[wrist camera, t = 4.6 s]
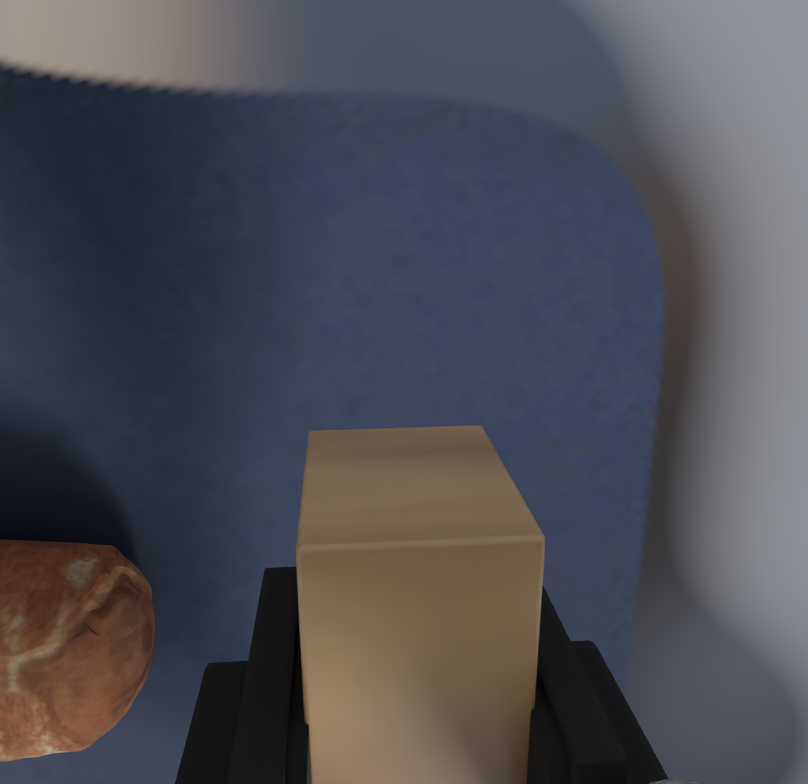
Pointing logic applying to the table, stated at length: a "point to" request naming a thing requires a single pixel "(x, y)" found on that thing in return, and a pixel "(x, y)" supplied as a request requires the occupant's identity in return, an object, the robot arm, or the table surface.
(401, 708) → the knife
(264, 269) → the table surface
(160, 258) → the table surface
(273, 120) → the table surface
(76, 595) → the bread
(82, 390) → the table surface
